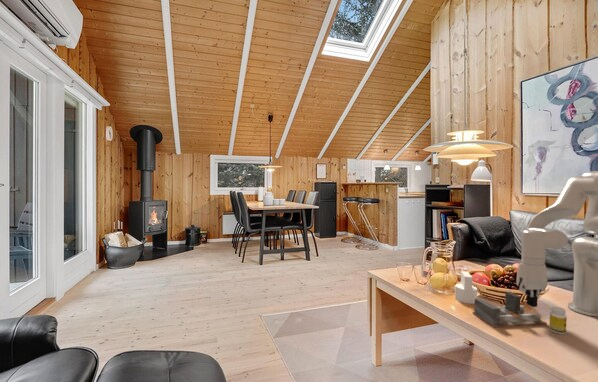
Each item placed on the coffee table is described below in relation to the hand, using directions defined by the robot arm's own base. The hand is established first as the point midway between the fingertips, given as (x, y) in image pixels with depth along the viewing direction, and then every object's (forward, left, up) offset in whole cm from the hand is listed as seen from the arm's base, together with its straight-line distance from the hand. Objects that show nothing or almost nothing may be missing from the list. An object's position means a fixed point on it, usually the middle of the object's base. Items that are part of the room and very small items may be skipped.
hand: (531, 305), depth 123 cm
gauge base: (+10, 0, -5) cm, 12 cm away
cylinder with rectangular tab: (+14, -20, -5) cm, 25 cm away
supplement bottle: (0, +11, -5) cm, 12 cm away
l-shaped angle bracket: (+12, +2, -4) cm, 13 cm away
